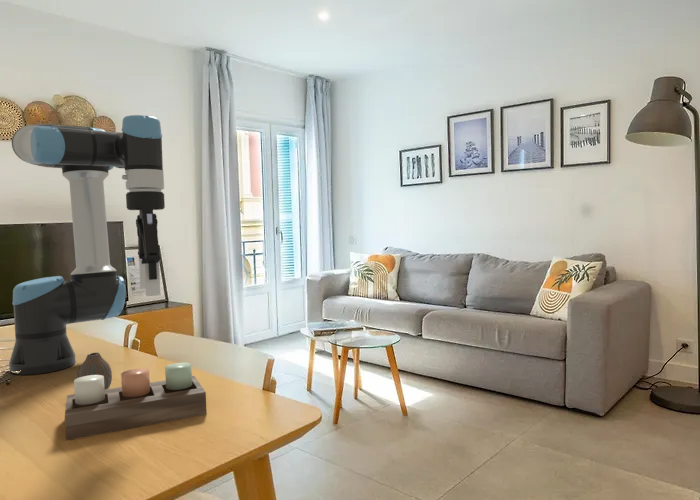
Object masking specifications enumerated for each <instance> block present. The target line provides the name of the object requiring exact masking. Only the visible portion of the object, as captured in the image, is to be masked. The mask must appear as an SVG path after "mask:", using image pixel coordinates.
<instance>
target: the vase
mask: <svg viewBox="0 0 700 500" xmlns="http://www.w3.org/2000/svg"><path fill="white" fill-rule="evenodd" d="M89 375H102V376H104V389H105V390H106V389H110V387H111V384H112V380H113V372H112V368H111V365H110V364H109V363H108V361H106V360H105V359H104V358H103V357H102V355H101V353H100V352H89V353H88V354H87V355H86V358H85V359H84V361H83V362H82V364H81V365H80V367H79V368H78V371H77V376H76V377H77V378H80V377H83V376H89ZM77 378H76V379H77Z"/></svg>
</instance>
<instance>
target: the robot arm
mask: <svg viewBox="0 0 700 500" xmlns="http://www.w3.org/2000/svg"><path fill="white" fill-rule="evenodd" d="M121 127H122V128H121V132H118V131H109V130H108V131H106V130H104V129H102V128H99V127H98V128H96V127H91V126H80V125H79V126H77V125H63V124H52V123H35V124H29V125H25V126H22V127H20V128H19V129H17V130H16V131H15V132H14V133H13V135H12V138H11V148H12V150H13V152H14V154H15V155H16V156H17V157H18V158H19V159H20V160H21V161H22V162H23V161H24V162H25V163H28V164H31V165H34V166H38V167H42V168H43V167H44V168H53V169H54V168H55V169H61V172H62V177H64V179H66V180H67V181H68V183H69V193H70V194H69V195H70V206H71V208H70V209H71V218H72V231H73V244H74V255H75V258H74V259H75V268H74V269H73V270H72V272H71V273H70V280H65V279H64V277H63V276H61V275H56V276H55V275H54V276H46V277H41V278H36V279H35V278H34V279H31V280H27V281H24V282H21V283H18V284H16V285H15V286H14V288H13V290H12V304H11V305H13V317H14V321H13V322H14V334H15V342H14V344H13V345H14V346H13V349H12V352H11V354H10V355H11V356H10V359H9V362H8V369H9V370H10V371H20V370H21V372H20V373H19V375H21V376H23V375H24V376H25V375H27V376H28V375H38V374H39V375H40V374H46V373H52V372H57V371H60V370H64V369H68V368H69V367H72V366H73V365H75V364H76V353H75V351H74V349H73V346H72V343H71V342H70V340H69V337H68V333H67V325H70V324H76V323H77V324H78V323H84V322H93V321H100V320H101V321H104V320H106V319H113V318H116V317H118V316H119V315H120V314H121V313H122V312H123V310H124V306H125V302H126V293H127V290H126V289H127V288H126V283H125V279H124V278H123V276H121V275H118V273H117V269H116V268H115V267H113V266H112V265H111V260H110V259H111V258H110V248H109V247H110V246H109V245H110V244H109V235H108V225H107V224H108V223H107V220H108V219H107V210H106V199H105V197H106V196H105V185H104V181H105V180H106V179H107V177H109V174H110V173H109V171H110V170H113V168H117V169H124V174H122V176H121V179H122V180H125V189H126V190H128V192H126V194H125V202H126V204H125V205H126V210H128V211H139V212H138V213H139V214H137V216H136V219H135V225H136V227H135V228H136V233H137V239H138V240H137V243H138V244H137V247H138V251H137V255H138V258H139V260H138V261H139V263H138V264H139V268H138V269H139V283H140V284H139V285H140V287H139V288H140V289H141V290H143V289H145V297H154V296H161V294H162V293H161V277H160V276H161V275H160V274H161V273H160V261H161V255H160V246H159V238H158V237H159V236H158V233H159V231H158V217H157V213H154V211H160V210H161V211H162V210H164V209H165V208H166V205H165V193H164V192H163V191H162V190H164V189H165V179H164V175H165V174H164V166H163V164H164V163H163V141H162V140H163V139H162V138H163V134H162V127H161V122H160V120H159V119H158V118H157V117H155V116H152V115H151V116H150V115H146V114H145V115H144V114H133V115H126V116H124V117H123V118H122V123H121ZM10 371H9V372H10Z"/></svg>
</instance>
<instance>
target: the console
mask: <svg viewBox="0 0 700 500" xmlns="http://www.w3.org/2000/svg"><path fill="white" fill-rule="evenodd" d="M65 400H66V402H65V410H64V426H65V441H70V440H71V441H72V440H76V439H81V438H82V439H83V438H87V437H91V436H97V435H102V434H107V433H113V432H117V431H125V430H129V429H134V428H140V427H145V426H149V425H156V424H161V423H167V422H171V421H177V420H183V419H189V418H192V417H193V418H194V417H198V416H204V415H207V413H208V412H207V411H208V409H207V392H206V390H205V388H204V387H203V386H202V384H201V383H200V382H199V381H198V379H197V377H196V376H195V375H192V386H190V387H188V388H185V389H179V390H170V389H167V388H166V379H163V380H159V381H158V380H157V381H152V382H150V392H149V393H147V394H145V395H142V396H137V397H125V396H123V395H122V386H120V387H114V388H108V389H106V390H105V399H104V400H102V401H100V402H97V403H93V404H87V405H79V404H76V403H75V393H74V394H67V395H66V399H65Z"/></svg>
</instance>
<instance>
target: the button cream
mask: <svg viewBox="0 0 700 500" xmlns="http://www.w3.org/2000/svg"><path fill="white" fill-rule="evenodd" d="M73 387H74V388H73V389H74V392H73V393H74V394H75V403H76V404H79V405H87V404H93V403H97V402H100V401H102V400H104V399H105V389H104V376H102V375H89V376H83V377H80V378H75V379H73Z"/></svg>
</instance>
